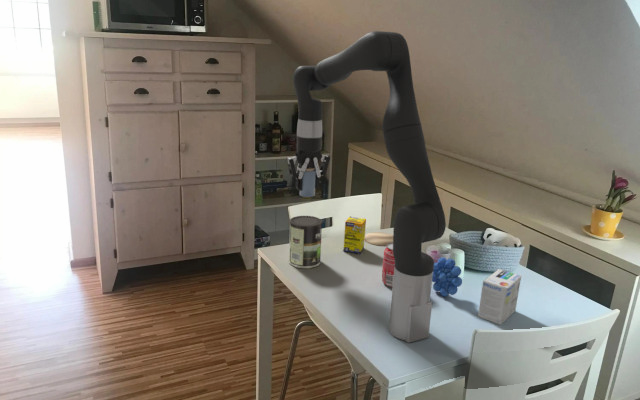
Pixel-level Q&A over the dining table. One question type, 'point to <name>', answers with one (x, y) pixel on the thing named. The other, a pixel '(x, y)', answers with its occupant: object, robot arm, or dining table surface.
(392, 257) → the soda can
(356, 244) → the supplement box
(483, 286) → the light bulb box
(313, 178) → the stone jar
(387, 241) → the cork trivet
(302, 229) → the coffee can
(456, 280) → the grapes
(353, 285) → the dining table surface
